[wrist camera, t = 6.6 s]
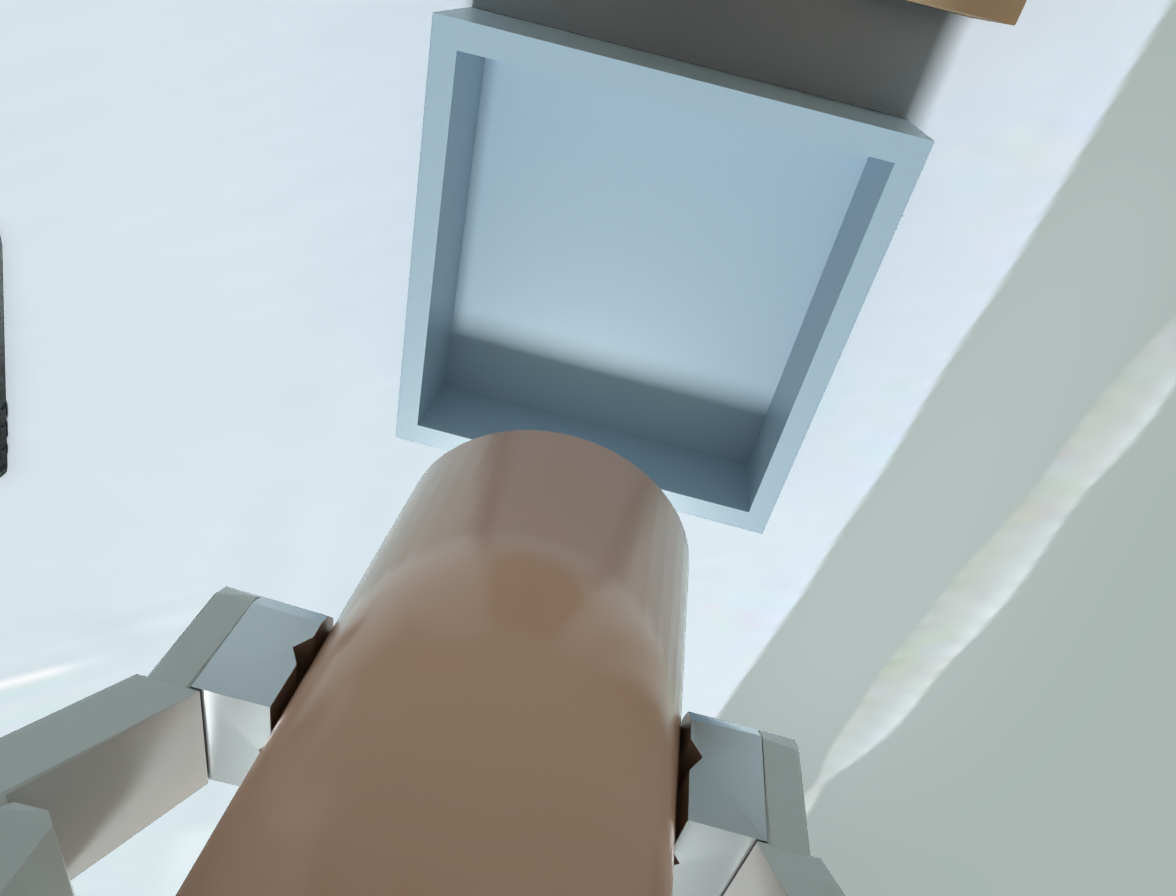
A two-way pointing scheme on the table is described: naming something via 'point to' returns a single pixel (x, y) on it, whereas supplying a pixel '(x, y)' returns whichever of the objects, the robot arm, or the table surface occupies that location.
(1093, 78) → the table surface
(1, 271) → the phone
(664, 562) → the orange-tan rounded cylinder
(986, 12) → the tray
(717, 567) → the table surface
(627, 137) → the bin
